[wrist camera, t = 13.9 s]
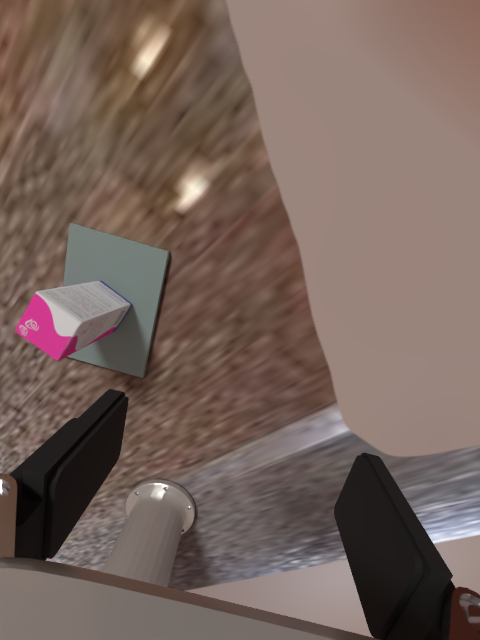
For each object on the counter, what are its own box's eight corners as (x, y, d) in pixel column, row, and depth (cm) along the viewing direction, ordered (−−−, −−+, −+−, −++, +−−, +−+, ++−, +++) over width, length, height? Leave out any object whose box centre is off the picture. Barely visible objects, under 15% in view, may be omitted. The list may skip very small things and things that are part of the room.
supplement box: (99, 278, 38) (35, 289, 27) (133, 304, 38) (84, 324, 27) (80, 309, 39) (11, 331, 28) (113, 333, 40) (59, 364, 29)
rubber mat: (144, 375, 42) (142, 378, 41) (59, 351, 42) (55, 353, 41) (170, 251, 37) (168, 251, 36) (73, 223, 37) (69, 223, 36)
